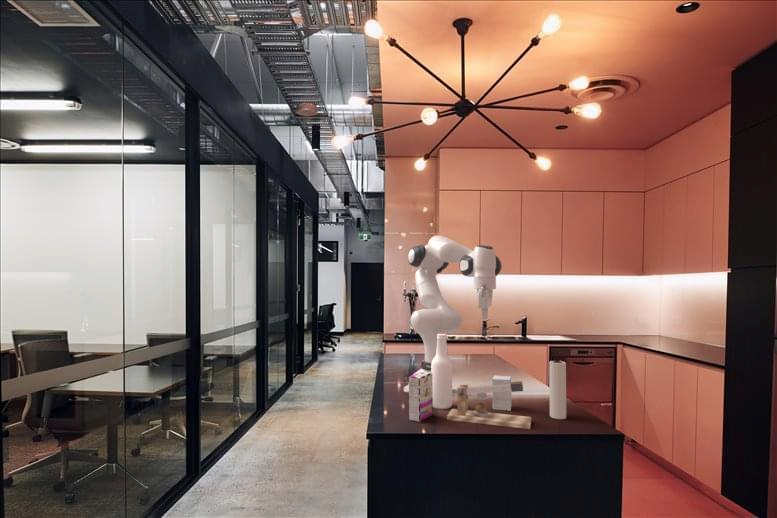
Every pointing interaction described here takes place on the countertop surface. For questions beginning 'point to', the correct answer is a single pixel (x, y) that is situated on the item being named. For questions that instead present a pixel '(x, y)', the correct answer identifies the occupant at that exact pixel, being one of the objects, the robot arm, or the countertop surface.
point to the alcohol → (441, 375)
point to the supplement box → (501, 394)
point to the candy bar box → (420, 396)
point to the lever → (494, 389)
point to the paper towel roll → (557, 389)
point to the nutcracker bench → (486, 420)
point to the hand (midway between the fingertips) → (484, 318)
